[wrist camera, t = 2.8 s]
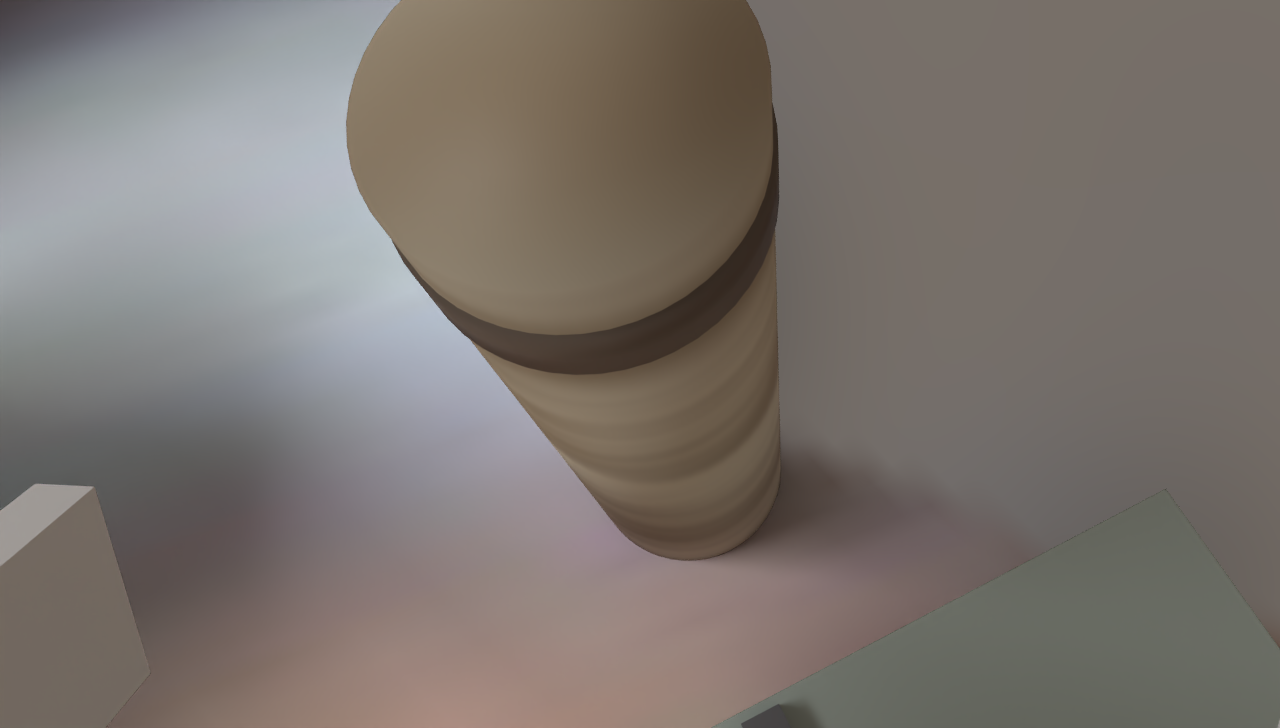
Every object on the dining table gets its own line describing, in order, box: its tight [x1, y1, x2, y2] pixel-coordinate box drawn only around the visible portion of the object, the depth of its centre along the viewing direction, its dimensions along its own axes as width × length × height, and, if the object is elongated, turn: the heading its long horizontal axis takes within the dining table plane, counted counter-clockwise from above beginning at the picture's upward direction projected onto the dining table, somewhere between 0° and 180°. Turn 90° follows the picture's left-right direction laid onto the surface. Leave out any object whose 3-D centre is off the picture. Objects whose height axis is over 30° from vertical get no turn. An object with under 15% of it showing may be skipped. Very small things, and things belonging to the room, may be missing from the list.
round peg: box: [346, 0, 781, 560], centre depth 16 cm, size 4×4×14 cm
